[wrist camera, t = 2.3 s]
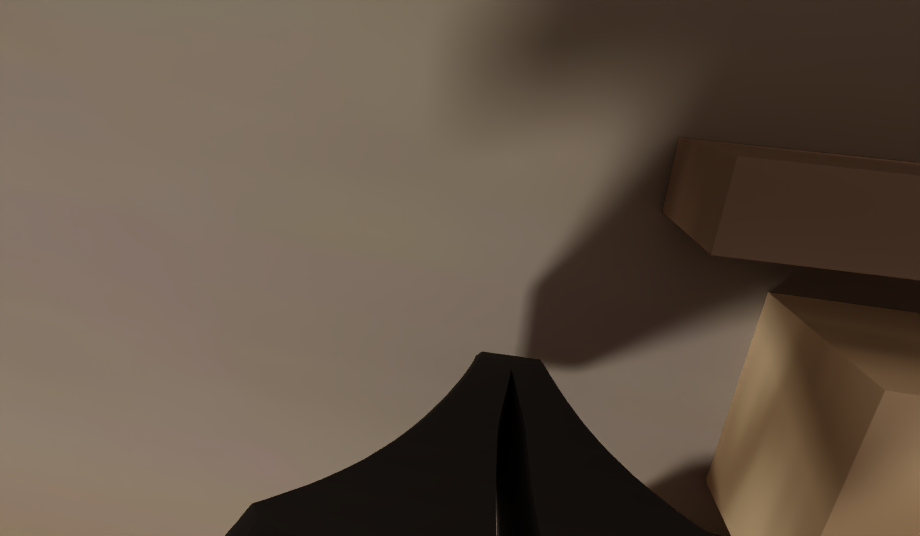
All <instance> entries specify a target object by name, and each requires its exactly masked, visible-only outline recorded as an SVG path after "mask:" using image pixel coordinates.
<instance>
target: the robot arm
mask: <svg viewBox="0 0 920 536" xmlns="http://www.w3.org/2000/svg"><path fill="white" fill-rule="evenodd" d="M496 516H497V536H712V535H710V534H709V533H707V532H706V531H704V530H703V529H701V528H700V527H698V526H697V525H695V524H694V523H693V522H691V521H690V520H688V519H687V518H686V517H684V516H683V515H682V514H680V513H679V512H677V511H676V510H675V509H673V508H672V507H671V506H670V505H668V504H667V503H666V502H665V501H663V500H662V499H661V498H660V497H658V496H657V495H656V494H655V493H653V492H652V491H651V490H650V489H648V488H647V487H646V486H645V485H644V484H642V483H641V482H640V481H639V480H638V479H637V478H636V477H634V476H633V475H632V474H631V473H630V472H629V471H628V470H627V469H626V468H625V467H624V466H623V465H622V464H621V463H620V462H619V461H618V460H617V459H616V458H615V457H613V456H612V455H611V454H610V453H609V452H608V451H607V449H606V448H605V447H604V446H603V445H602V444H601V443H600V442H599V441H598V440H597V439H596V437H595V436H594V435H593V434H592V433H591V432H590V430H589V429H588V428H587V427H586V426H585V425H584V423H583V422H582V421H581V419H580V418H579V417H578V415H577V414H576V413H575V411H574V410H573V409H572V407H571V406H570V404H569V403H568V402H567V400H566V399H565V397H564V396H563V394H562V393H561V391H560V390H559V388H558V387H557V385H556V384H555V382H554V381H553V379H552V377H551V376H550V374H549V372H548V371H547V369H546V367H545V366H544V364H543V363H542V362H541V360H540V359H532V358H525V357H518V356H510V355H503V354H496V353H488V352H481V353H479V354H478V355H476V357H475V359H474V361H473V363H472V364H471V366H470V367H469V369H468V370H467V372H466V373H465V374H464V375H463V377H462V378H461V379H460V381H459V382H458V383H457V384H456V385H455V386H454V387H453V389H452V390H451V391H450V392H449V393H448V394H447V395H446V396H445V398H444V399H443V400H441V401H440V402H439V403H438V404H437V405H436V406H435V407H434V408H433V409H432V410H431V411H430V412H429V413H428V414H427V415H426V416H425V417H424V418H422V419H421V420H420V421H419V422H418V423H417V424H415V425H414V426H413V427H412V428H410V429H409V430H408V431H406V432H405V433H404V434H402V435H401V436H400V437H398V438H397V439H396V440H394V441H393V442H391V443H390V444H388V445H387V446H385V447H383V448H382V449H380V450H379V451H377V452H375V453H374V454H372V455H370V456H369V457H367V458H365V459H363V460H362V461H360V462H358V463H356V464H354V465H352V466H350V467H348V468H346V469H344V470H342V471H339V472H337V473H335V474H332V475H330V476H328V477H326V478H323V479H321V480H319V481H316V482H314V483H311V484H309V485H306V486H303V487H300V488H297V489H294V490H292V491H289V492H286V493H283V494H280V495H277V496H274V497H271V498H268V499H266V500H262V501H259V502H255V503H253V504H251V505H250V506H249V508H248V509H247V510H246V511H245V513H244V514H243V515H242V516H241V518H240V519H239V520H238V521H237V522H236V524H235V525H234V526H233V527H232V528H231V529H230V530H229V531H228V533H227V534H226V535H225V536H496Z"/></svg>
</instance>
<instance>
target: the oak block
mask: <svg viewBox="0 0 920 536" xmlns="http://www.w3.org/2000/svg"><path fill="white" fill-rule="evenodd" d="M706 483H707V485H708V487H709V489H710V491H711V494H712V496H713V498H714V500H715V502H716V504H717V507H718V509H719V511H720V513H721V515H722V517H723V519H724V522H725V524H726V526H727V528H728V530H729V532H730V535H731V536H920V313H914V312H907V311H900V310H893V309H885V308H878V307H871V306H864V305H857V304H850V303H843V302H835V301H828V300H821V299H814V298H807V297H800V296H793V295H785V294H778V293H771V292H768V294H767V297H766V300H765V303H764V306H763V309H762V312H761V315H760V318H759V321H758V324H757V327H756V330H755V333H754V336H753V339H752V342H751V345H750V348H749V351H748V354H747V357H746V360H745V363H744V366H743V369H742V372H741V375H740V378H739V381H738V384H737V388H736V391H735V394H734V397H733V400H732V403H731V406H730V409H729V412H728V415H727V418H726V421H725V424H724V427H723V430H722V433H721V436H720V439H719V442H718V445H717V448H716V451H715V454H714V457H713V460H712V463H711V466H710V469H709V472H708V475H707V478H706Z"/></svg>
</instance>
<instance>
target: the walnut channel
mask: <svg viewBox="0 0 920 536" xmlns="http://www.w3.org/2000/svg"><path fill="white" fill-rule="evenodd" d="M662 212H663V213H664V214H665V215H666V216H667V217H669V218H670V219H671V220H672V221H673V222H674V223H675V224H676V225H678V226H679V227H680V228H681V229H682V230H683V231H684V232H686V233H687V234H688V235H689V236H690V237H691V238H692V239H693V240H695V241H696V242H697V243H698V244H699V245H700V246H701V247H703V248H704V249H705V250H706V251H707V252H708V253H709V254H710V255H714V256H722V257H730V258H739V259H747V260H755V261H764V262H772V263H780V264H789V265H797V266H805V267H813V268H822V269H830V270H838V271H847V272H855V273H863V274H872V275H880V276H888V277H896V278H905V279H913V280H920V163H916V162H906V161H897V160H887V159H878V158H868V157H859V156H849V155H840V154H830V153H821V152H811V151H802V150H792V149H783V148H773V147H764V146H754V145H745V144H735V143H726V142H717V141H707V140H698V139H688V138H679V139H678V144H677V148H676V153H675V157H674V161H673V166H672V170H671V175H670V179H669V183H668V188H667V192H666V197H665V201H664V205H663V210H662ZM712 536H716V535H712Z"/></svg>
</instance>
